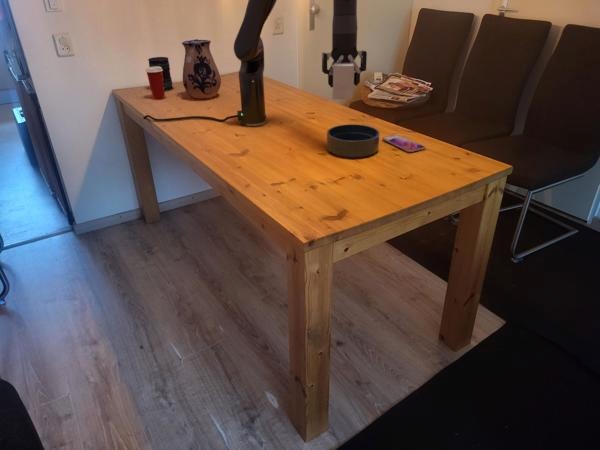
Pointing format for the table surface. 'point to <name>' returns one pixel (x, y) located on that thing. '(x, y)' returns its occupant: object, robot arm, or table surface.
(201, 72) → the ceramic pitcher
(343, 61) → the robot arm
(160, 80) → the paper cup
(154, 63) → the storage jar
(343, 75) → the cosmetics box
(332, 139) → the bowl
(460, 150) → the table surface
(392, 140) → the smartphone
